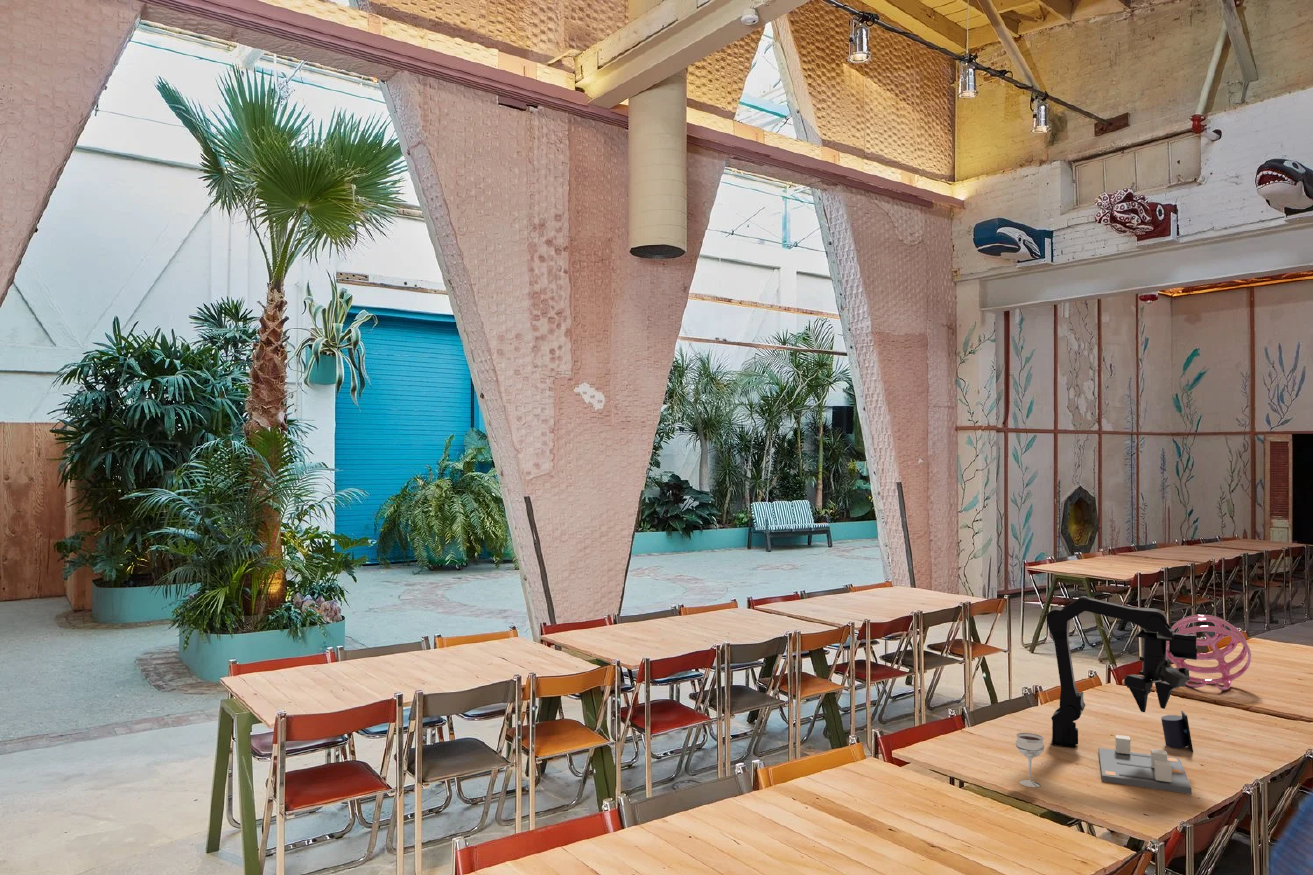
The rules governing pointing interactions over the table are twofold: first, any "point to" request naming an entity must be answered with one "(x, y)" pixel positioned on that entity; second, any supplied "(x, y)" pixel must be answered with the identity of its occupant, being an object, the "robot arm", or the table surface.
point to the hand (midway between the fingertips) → (1152, 710)
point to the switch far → (1123, 744)
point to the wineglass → (1029, 751)
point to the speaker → (1177, 731)
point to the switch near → (1163, 771)
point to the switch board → (1140, 771)
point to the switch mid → (1158, 756)
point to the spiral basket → (1217, 653)
